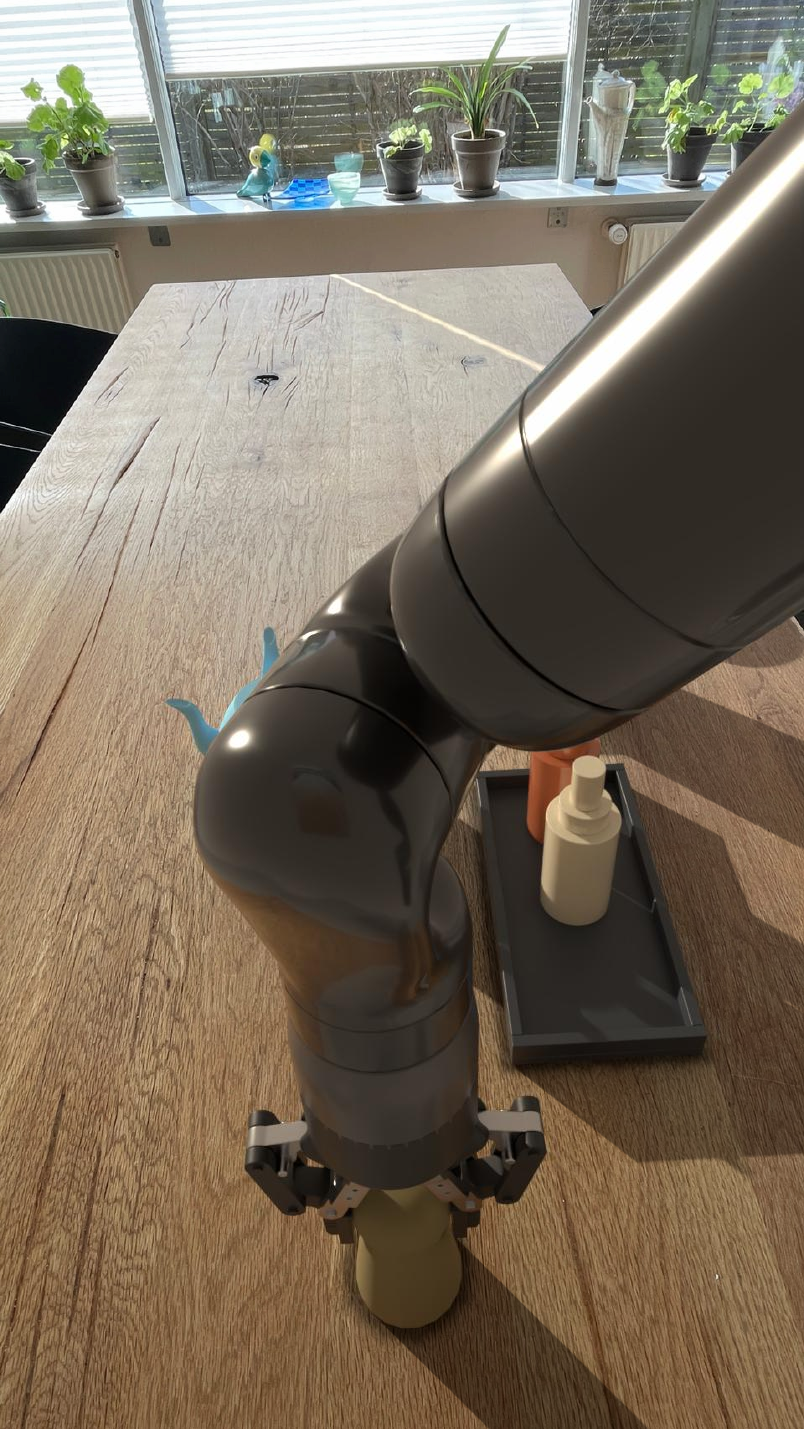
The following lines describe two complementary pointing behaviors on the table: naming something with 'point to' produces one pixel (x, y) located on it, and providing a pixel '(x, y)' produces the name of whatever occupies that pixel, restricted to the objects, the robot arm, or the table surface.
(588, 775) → the cream bottle
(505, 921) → the tray
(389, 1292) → the pepper shaker
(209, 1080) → the table surface
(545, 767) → the terracotta bottle
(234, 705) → the teapot
